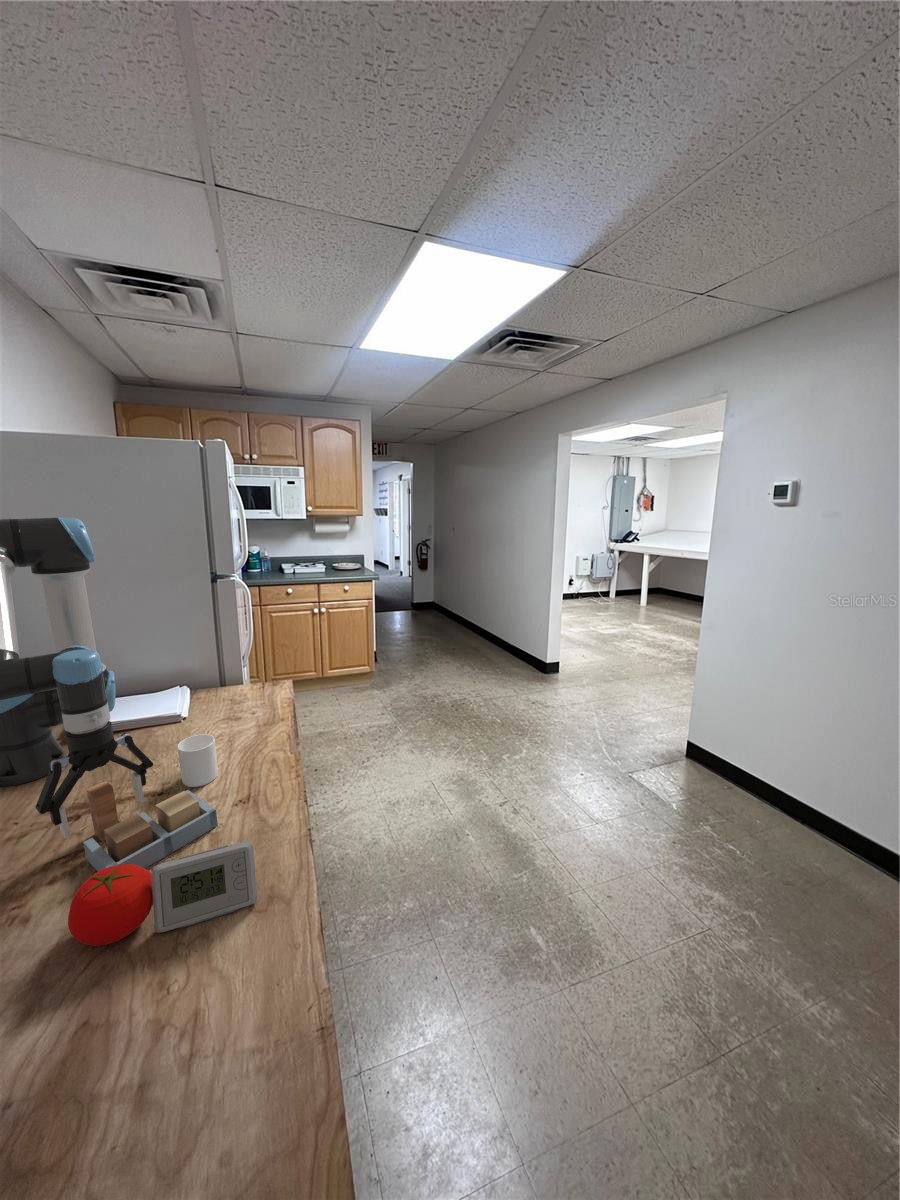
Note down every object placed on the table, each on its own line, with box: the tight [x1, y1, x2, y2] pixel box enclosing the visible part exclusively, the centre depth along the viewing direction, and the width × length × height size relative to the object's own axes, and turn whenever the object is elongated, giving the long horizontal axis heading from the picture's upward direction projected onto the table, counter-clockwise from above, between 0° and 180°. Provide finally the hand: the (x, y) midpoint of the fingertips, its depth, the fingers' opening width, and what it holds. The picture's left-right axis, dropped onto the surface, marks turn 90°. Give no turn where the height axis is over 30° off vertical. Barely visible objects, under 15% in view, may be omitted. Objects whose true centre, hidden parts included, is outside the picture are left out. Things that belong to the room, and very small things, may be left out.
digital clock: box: [150, 840, 258, 934], centre depth 83 cm, size 16×9×11 cm, turn 102°
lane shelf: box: [83, 789, 219, 872], centre depth 99 cm, size 12×20×4 cm, turn 145°
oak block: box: [155, 790, 200, 833], centre depth 102 cm, size 6×6×7 cm
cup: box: [177, 733, 219, 788], centre depth 121 cm, size 8×12×10 cm
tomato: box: [67, 864, 153, 947], centre depth 79 cm, size 11×12×10 cm
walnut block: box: [86, 780, 154, 863], centre depth 96 cm, size 17×6×11 cm, turn 55°
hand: (104, 816), depth 100 cm, fingers open, 13 cm apart
